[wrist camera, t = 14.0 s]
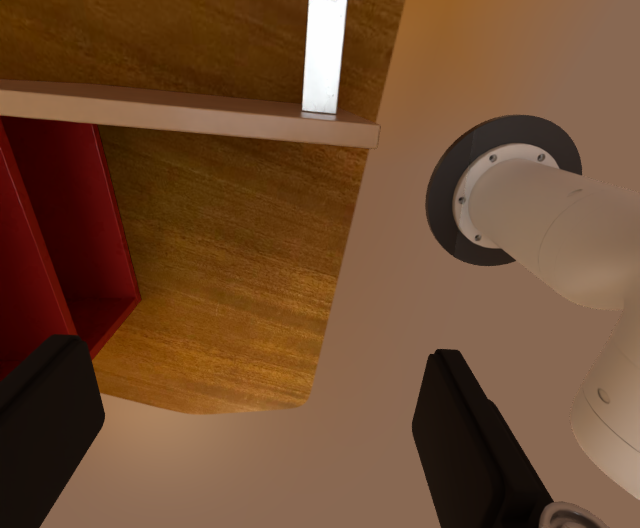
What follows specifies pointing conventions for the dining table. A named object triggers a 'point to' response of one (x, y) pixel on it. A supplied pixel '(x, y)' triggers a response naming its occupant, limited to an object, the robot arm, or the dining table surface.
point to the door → (216, 99)
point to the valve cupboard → (59, 239)
